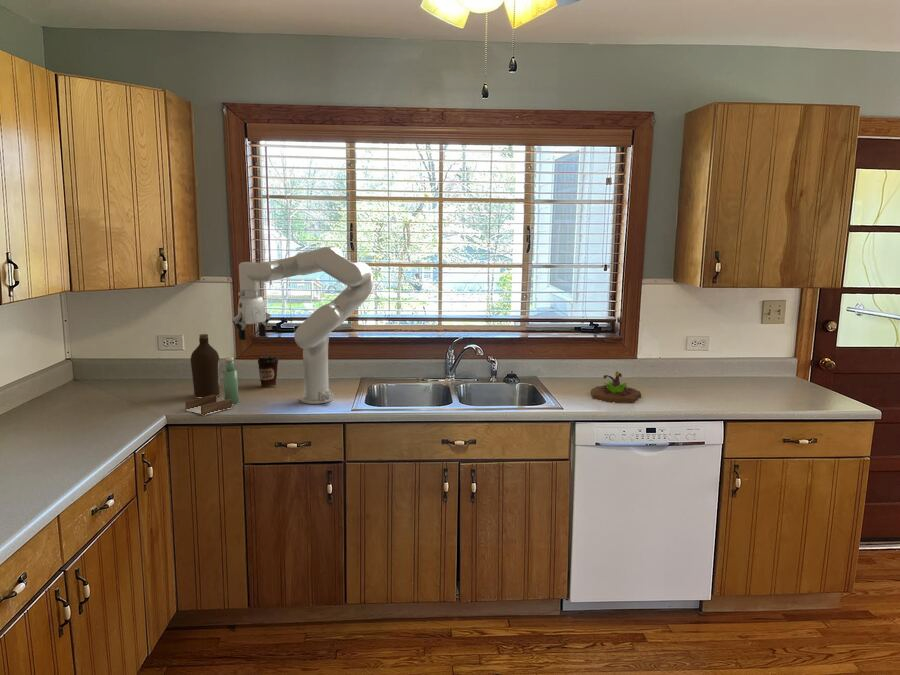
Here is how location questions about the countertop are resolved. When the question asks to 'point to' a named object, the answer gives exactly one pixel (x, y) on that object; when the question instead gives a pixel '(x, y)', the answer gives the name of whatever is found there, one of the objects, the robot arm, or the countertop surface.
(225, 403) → the cradle
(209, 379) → the olive oil
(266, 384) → the coffee cup
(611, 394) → the plant
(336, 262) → the robot arm
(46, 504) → the countertop surface
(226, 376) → the bottle
